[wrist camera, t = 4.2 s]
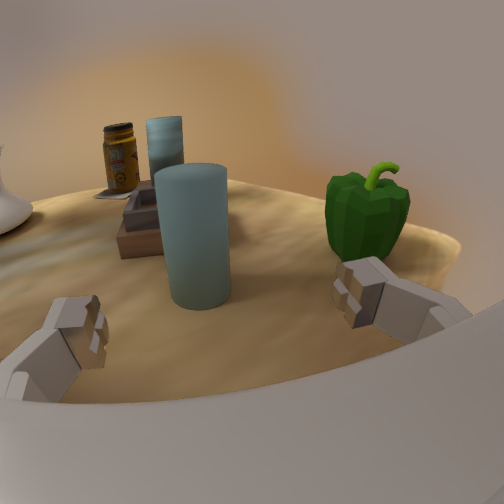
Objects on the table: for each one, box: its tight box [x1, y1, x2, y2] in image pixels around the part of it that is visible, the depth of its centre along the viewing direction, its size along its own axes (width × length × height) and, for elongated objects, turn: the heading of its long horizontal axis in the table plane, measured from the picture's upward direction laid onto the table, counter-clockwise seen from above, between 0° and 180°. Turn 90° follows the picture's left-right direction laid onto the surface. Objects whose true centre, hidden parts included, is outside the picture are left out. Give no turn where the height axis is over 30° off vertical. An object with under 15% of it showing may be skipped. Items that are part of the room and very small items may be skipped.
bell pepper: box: [325, 162, 410, 262], centre depth 27 cm, size 8×8×10 cm
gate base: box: [117, 116, 184, 259], centre depth 35 cm, size 20×10×12 cm, turn 13°
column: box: [154, 163, 231, 310], centre depth 22 cm, size 5×5×10 cm
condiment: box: [93, 122, 140, 199], centre depth 46 cm, size 7×8×12 cm
